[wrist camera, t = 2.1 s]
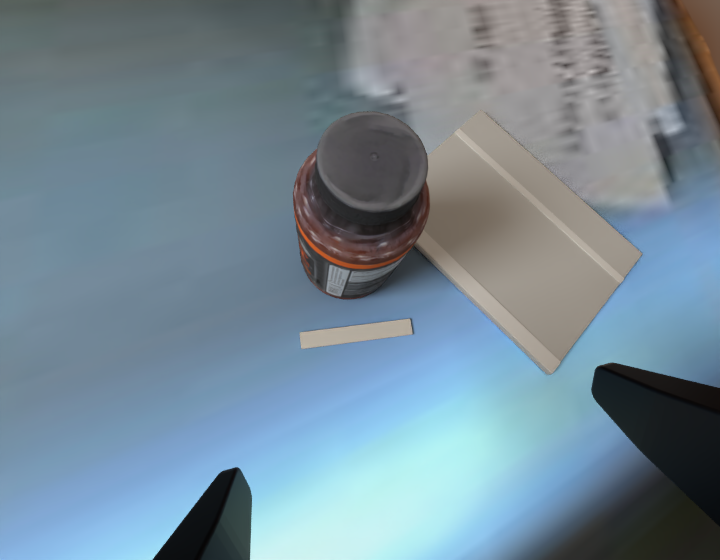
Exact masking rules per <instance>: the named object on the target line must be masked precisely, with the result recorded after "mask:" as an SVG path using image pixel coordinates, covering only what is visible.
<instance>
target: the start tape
mask: <svg viewBox="0 0 720 560" xmlns="http://www.w3.org/2000/svg"><path fill="white" fill-rule="evenodd" d="M412 334H413V333H412V327H411V321H410V319H404V320H396V321H388V322H380V323H372V324H364V325H356V326H348V327H340V328H331V329H323V330H315V331H307V332H300V341H301V349H306V348H314V347H321V346H329V345H336V344H344V343H351V342H359V341H367V340H374V339H382V338H389V337H397V336H404V335H412Z"/></svg>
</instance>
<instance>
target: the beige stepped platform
mask: <svg viewBox="0 0 720 560" xmlns="http://www.w3.org/2000/svg"><path fill="white" fill-rule="evenodd" d="M427 157H428V174H427V178H426V181H427V185H428V188H429V194H430V211H429V215H428V219H427V223H426V225H425V227H424V230H423V232H422V233H421V235H420V237H419V238H418V240H417V241H416V243H415V244H414V246H415V247H416V248H417V249H418V250H419V251H420V252H421V253H422V254H423V255H424V256H425V257H426V258H427V259H428V260H429V261H430V262H431V263H432V264H433V265H434V266H435V267H436V268H437V269H438V270H440V271H441V272H442V273H443V274H444V275H445V276H446V277H447V278H448V279H449V280H450V281H451V282H452V283H453V284H454V285H455V286H456V287H457V288H458V289H459V290H460V291H461V292H462V293H463V294H464V295H465V296H466V297H467V298H468V299H469V300H470V301H471V302H472V303H473V304H475V305H476V306H477V307H478V308H479V309H480V310H481V311H482V312H483V313H484V314H485V315H486V316H487V317H488V318H489V319H490V320H491V321H492V322H493V323H494V324H495V325H496V326H497V327H498V328H499V329H500V330H501V331H502V332H503V333H504V334H505V335H506V336H507V337H508V338H510V339H511V340H512V341H513V342H514V343H515V344H516V345H517V346H518V347H519V348H520V349H521V350H522V351H523V352H524V353H525V354H526V355H527V356H528V357H529V358H530V359H531V360H532V361H533V362H534V363H535V364H536V365H537V366H538V367H539V368H540V369H541V370H542V371H543V372H545V373H546V374H547V375H551V374H552V373H553V372H554V371H555V369H556V368H557V367H558V366H559V364H560V363H561V360H562V359H563V358H564V357H565V355H566V354H567V353H568V351H569V350H570V349H571V347H572V346H573V345H574V343H575V342H576V341H577V339H578V338H579V337H580V335H581V334H582V333H583V332H584V330H585V329H586V328H587V326H588V325H589V324H590V322H591V321H592V320H593V318H594V317H595V316H596V314H597V313H598V312H599V310H600V309H601V308H602V306H603V305H604V304H605V303H606V301H607V300H608V299H609V297H610V296H611V295H612V293H613V292H614V291H615V289H616V288H617V287H618V285H619V284H620V283H621V282H622V281H623V280H624V278H625V276H626V275H627V274H628V272H629V271H630V270H631V268H632V267H633V266H634V264H635V263H636V262H637V260H638V259H639V258H640V256H641V255H642V253H641V252H640V251H639V250H637V249H636V248H635V247H634V246H633V245H632V244H631V243H630V242H628V241H627V240H626V239H625V238H624V237H623V236H622V235H621V234H620V233H618V232H617V231H616V230H615V229H614V228H613V227H612V226H611V225H609V224H608V223H607V222H606V221H605V220H604V219H603V218H602V217H601V216H599V215H598V214H597V213H596V212H595V211H594V210H593V209H592V208H590V207H589V206H588V205H587V204H586V203H585V202H584V201H583V200H581V199H580V198H579V197H578V196H577V195H576V194H575V193H574V192H573V191H571V190H570V189H569V188H568V187H567V186H566V185H565V184H564V183H562V182H561V181H560V180H559V179H558V178H557V177H556V176H555V175H553V174H552V173H551V172H550V171H549V170H548V169H547V168H546V167H545V166H543V165H542V164H541V163H540V162H539V161H538V160H537V159H536V158H534V157H533V156H532V155H531V154H530V153H529V152H528V151H527V150H526V149H524V148H523V147H522V146H521V145H520V144H519V143H518V142H517V141H515V140H514V139H513V138H512V137H511V136H510V135H509V134H508V133H506V132H505V131H504V130H503V129H502V128H501V127H500V126H499V125H498V124H496V123H495V122H494V121H493V120H492V119H491V118H490V117H489V116H487V115H486V114H485V113H484V112H483V111H482V110H480V111H479V112H478V113H476V114H475V115H474V116H473V117H472V118H471V119H469V120H468V121H467V122H466V123H465V124H464V125H463V126H461V127H460V128H459V129H458V130H456V131H455V132H454V133H453V134H452V135H451V136H450V137H449V138H448V139H446V140H445V141H444V142H443V143H442V144H441V145H440V146H438V147H437V148H436V149H435V150H434V151H433V152H432V153H430V154H429V155H428V156H427Z"/></svg>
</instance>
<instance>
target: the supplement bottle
mask: <svg viewBox="0 0 720 560" xmlns="http://www.w3.org/2000/svg"><path fill="white" fill-rule="evenodd" d="M427 174H428V157H427V153H426V151H425V148H424V145H423V143H422V141H421V139H420V138H419V137H418V135H417V134H416V133H415V132H414V131H413V130H412V129H411V128H410V127H409V126H408V125H406V124H405V123H403V122H402V121H400V120H399V119H396V118H395V117H392V116H390V115H388V114H383V113H379V112H369V111H367V112H357V113H351V114H349V115H346V116H344V117H341V118H340V119H338V120H337V121H335V122H333V123H332V124H331V125H330V126H329V127H328V128H327V130H326V131H325V132H324V134H323V135H322V137H321V139H320V141H319V144H318V148H317V149H316V150H315V151H314V152H313V153H312V154H311V155H310V156H309V157H308V158H307V159H306V161H305V162H304V164H303V165H302V167H301V168H300V170H299V172H298V174H297V178H296V181H295V186H294V191H293V203H294V212H295V220H296V229H297V233H298V241H299V248H300V256H301V262H302V265H303V267H304V270H305V272H306V274H307V276H308V278H309V279H310V281H311V282H312V283H313V284H314V285H315V286H316V287H317V288H318V289H319V290H321V291H322V292H323V293H325V294H327V295H330V296H332V297H335V298H339V299H357V298H361V297H364V296H367V295H369V294H371V293H372V292H374V291H375V290H377V289H378V288H379V287H380V286H381V285H382V284H383V283H384V282H385V281H386V280H387V278H388V277H389V276H390V275H391V273H392V272H393V271H394V269H395V268H396V267H397V266H398V264H399V263H400V262H401V261H402V259H403V258H404V257H405V256H406V254H407V253H408V252H409V251H410V249H411V248H412V246H413V245H414V244H415V243H416V241H417V240H418V238H419V237H420V235H421V233H422V232H423V230H424V227H425V225H426V223H427V219H428V215H429V211H430V194H429V188H428V185H427V181H426V178H427Z"/></svg>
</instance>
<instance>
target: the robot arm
mask: <svg viewBox="0 0 720 560" xmlns="http://www.w3.org/2000/svg"><path fill="white" fill-rule="evenodd" d="M591 391H592V395H593V397H594V399H595V400H596V402H597V403H598V404H599V405H600V406H601V407H602V409H603V410H604V411H605V412H606V413H607V414H608V415H609V417H610V418H611V419H612V420H613V421H614V422H615V423H616V424H617V426H618V427H619V428H620V429H621V430H622V431H623V432H624V433H625V435H626V436H627V437H628V438H629V439H630V440H631V441H632V442H633V444H634V445H635V446H636V447H637V448H638V449H639V450H640V451H641V452H642V453H643V454H644V455H645V456H646V457H647V458H648V459H649V460H650V461H651V462H652V463H653V464H654V465H655V466H657V467H658V468H659V469H660V470H661V471H662V472H663V473H664V474H665V475H666V476H667V477H668V478H669V479H670V480H671V481H672V482H673V483H674V484H675V485H677V486H678V487H679V488H680V489H681V490H682V491H683V492H684V493H685V494H686V495H687V496H688V497H689V498H690V499H691V500H692V501H693V502H694V503H695V504H696V505H698V506H699V507H700V508H701V509H702V510H703V511H704V512H705V513H706V514H707V515H708V516H709V517H710V518H711V519H712V520H713V521H714V522H715V523H716V524H717V525H719V526H720V388H717V387H713V386H709V385H705V384H701V383H696V382H692V381H688V380H684V379H680V378H676V377H671V376H667V375H663V374H659V373H655V372H651V371H646V370H642V369H638V368H634V367H630V366H626V365H621V364H617V363H608V364H604V365H600V366H598V367H597V368H596V369H595V373H594V378H593V383H592V389H591ZM251 512H252V495H251V490H250V487H249V485H248V483H247V481H246V479H245V477H244V475H243V473H242V471H241V470H240V469H239V468H238V467H235V468H232V469H228V470H225V471H222V472H220V473H219V474H218V476H217V477H216V478H215V479H214V481H213V482H212V483H211V485H210V486H209V487H208V489H207V490H206V491H205V492H204V494H203V495H202V496H201V498H200V499H199V500H198V501H197V503H196V504H195V505H194V507H193V508H192V509H191V511H190V512H189V513H188V514H187V516H186V517H185V518H184V520H183V521H182V522H181V523H180V525H179V526H178V527H177V529H176V530H175V531H174V533H173V534H172V535H171V536H170V538H169V539H168V540H167V542H166V543H165V544H164V545H163V547H162V548H161V549H160V551H159V552H158V553H157V555H156V556H155V557H154V558H153V560H250V542H251Z"/></svg>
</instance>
